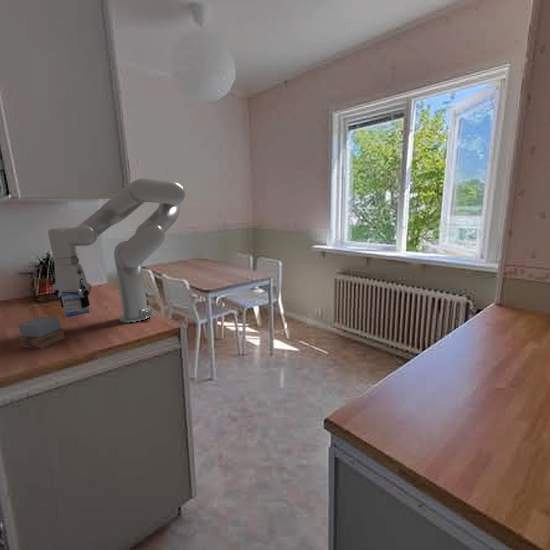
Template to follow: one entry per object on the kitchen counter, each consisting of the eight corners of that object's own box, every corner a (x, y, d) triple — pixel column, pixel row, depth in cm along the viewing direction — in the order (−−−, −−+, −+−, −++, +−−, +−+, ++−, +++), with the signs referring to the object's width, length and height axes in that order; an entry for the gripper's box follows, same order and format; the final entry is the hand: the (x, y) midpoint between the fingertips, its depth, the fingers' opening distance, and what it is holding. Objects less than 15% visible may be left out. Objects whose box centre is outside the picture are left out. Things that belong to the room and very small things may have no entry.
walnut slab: (64, 339, 121) (62, 328, 120) (42, 349, 113) (39, 338, 112) (44, 337, 123) (42, 327, 123) (20, 348, 115) (18, 336, 114)
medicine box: (65, 317, 126) (60, 295, 124) (66, 314, 130) (61, 292, 128) (89, 312, 129) (85, 290, 128) (89, 310, 133) (84, 288, 131)
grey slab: (60, 328, 120) (58, 317, 119) (40, 337, 113) (37, 325, 112) (42, 327, 122) (40, 316, 121) (21, 336, 115) (18, 324, 114)
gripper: (93, 259, 126) (102, 303, 130) (56, 260, 131) (65, 303, 135) (77, 263, 119) (87, 310, 123) (38, 264, 124) (48, 309, 128)
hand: (75, 306), depth 129 cm, fingers closed on medicine box, 8 cm apart
